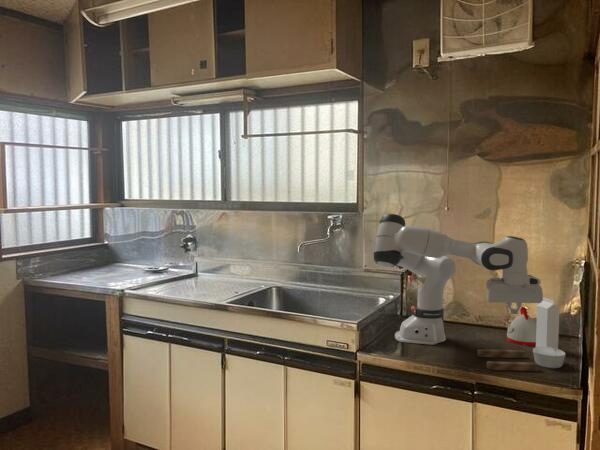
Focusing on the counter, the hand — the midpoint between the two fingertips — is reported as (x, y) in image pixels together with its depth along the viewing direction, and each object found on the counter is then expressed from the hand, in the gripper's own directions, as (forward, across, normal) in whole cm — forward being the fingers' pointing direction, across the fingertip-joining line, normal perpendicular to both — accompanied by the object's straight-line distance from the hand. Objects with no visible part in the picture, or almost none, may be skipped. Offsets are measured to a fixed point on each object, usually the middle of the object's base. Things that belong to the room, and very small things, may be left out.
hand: (513, 313), depth 192 cm
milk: (+20, +19, +16) cm, 31 cm away
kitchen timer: (+20, +14, +29) cm, 38 cm away
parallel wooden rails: (+20, -2, 0) cm, 20 cm away
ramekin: (+20, +14, 0) cm, 24 cm away
